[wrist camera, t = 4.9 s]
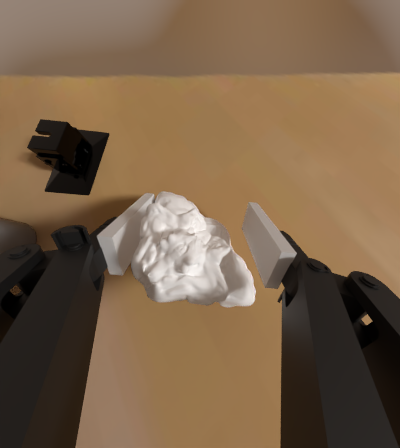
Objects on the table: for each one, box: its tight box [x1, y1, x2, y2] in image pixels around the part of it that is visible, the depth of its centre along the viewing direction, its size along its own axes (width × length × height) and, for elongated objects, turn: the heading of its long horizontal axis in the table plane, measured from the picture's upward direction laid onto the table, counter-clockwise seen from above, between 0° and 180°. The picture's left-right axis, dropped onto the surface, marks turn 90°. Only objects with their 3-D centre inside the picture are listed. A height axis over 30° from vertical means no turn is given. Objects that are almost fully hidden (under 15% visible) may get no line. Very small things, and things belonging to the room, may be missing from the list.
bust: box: [131, 191, 256, 307], centre depth 12 cm, size 12×8×11 cm
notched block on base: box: [27, 119, 109, 195], centre depth 17 cm, size 12×7×5 cm, turn 174°
